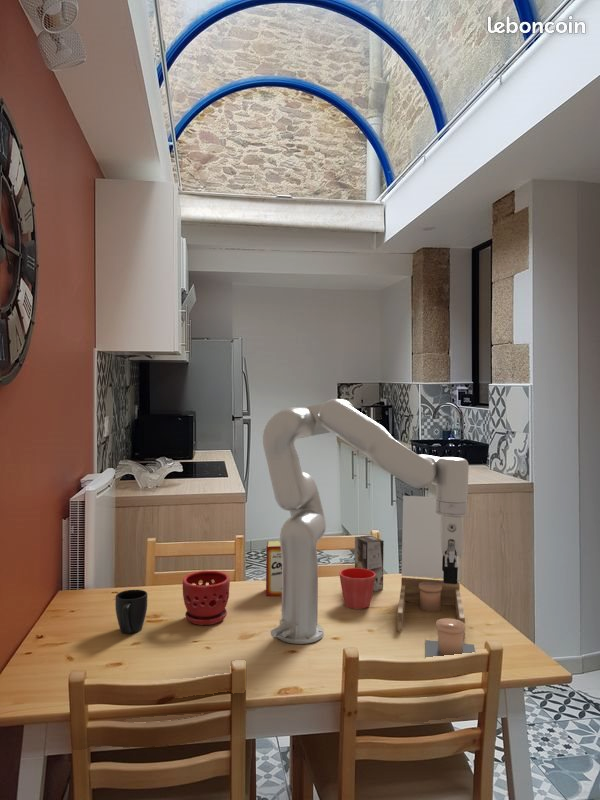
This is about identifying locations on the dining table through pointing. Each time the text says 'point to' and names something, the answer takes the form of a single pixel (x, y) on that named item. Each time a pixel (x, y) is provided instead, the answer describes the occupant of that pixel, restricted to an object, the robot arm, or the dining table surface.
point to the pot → (430, 596)
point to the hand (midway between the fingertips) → (449, 577)
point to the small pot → (450, 636)
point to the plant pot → (206, 597)
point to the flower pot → (357, 587)
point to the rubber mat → (432, 648)
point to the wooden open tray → (412, 594)
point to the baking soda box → (273, 569)
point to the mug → (131, 610)
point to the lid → (421, 538)
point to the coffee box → (370, 557)
